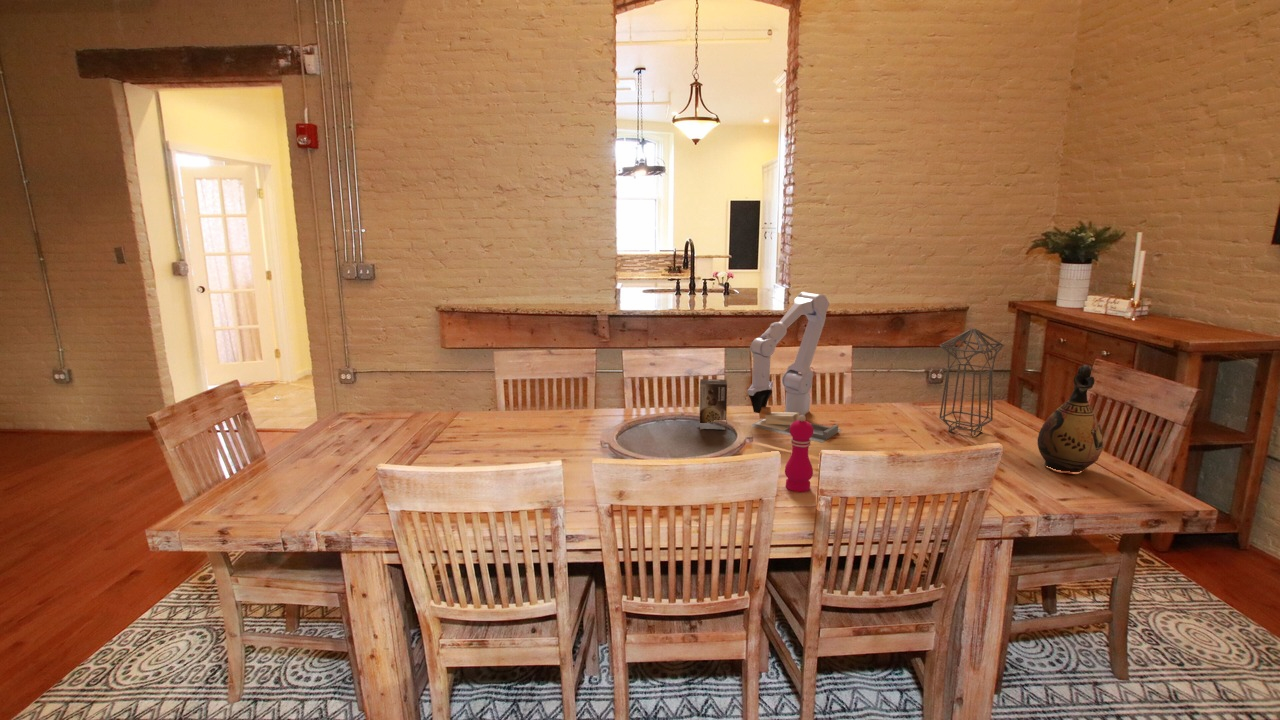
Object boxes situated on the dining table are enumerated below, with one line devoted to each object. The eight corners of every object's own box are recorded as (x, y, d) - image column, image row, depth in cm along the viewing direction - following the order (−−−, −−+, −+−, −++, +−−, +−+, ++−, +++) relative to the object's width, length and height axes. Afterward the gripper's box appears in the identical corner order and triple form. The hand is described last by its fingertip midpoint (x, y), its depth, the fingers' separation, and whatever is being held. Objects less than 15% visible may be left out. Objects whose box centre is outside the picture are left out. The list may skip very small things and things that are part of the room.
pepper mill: (780, 482, 176) (784, 411, 172) (806, 481, 177) (811, 410, 172) (788, 493, 169) (793, 419, 165) (815, 492, 170) (821, 419, 165)
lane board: (770, 416, 232) (771, 408, 232) (841, 432, 217) (842, 422, 216) (748, 428, 220) (749, 419, 219) (822, 445, 204) (823, 435, 204)
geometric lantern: (979, 443, 207) (989, 334, 200) (930, 432, 219) (937, 328, 211) (998, 432, 217) (1009, 328, 210) (951, 421, 229) (959, 323, 221)
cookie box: (725, 424, 223) (727, 379, 220) (726, 430, 217) (728, 384, 214) (698, 423, 224) (700, 378, 221) (698, 429, 218) (700, 383, 214)
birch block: (765, 420, 228) (764, 406, 227) (799, 421, 219) (798, 406, 219) (758, 423, 224) (757, 409, 223) (793, 425, 216) (791, 410, 215)
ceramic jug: (1099, 484, 176) (1118, 376, 169) (1033, 472, 184) (1048, 368, 177) (1096, 464, 190) (1113, 364, 183) (1034, 453, 198) (1049, 357, 191)
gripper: (761, 379, 215) (759, 418, 218) (781, 370, 226) (779, 408, 229) (742, 375, 219) (741, 414, 222) (763, 367, 230) (761, 404, 233)
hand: (759, 411), depth 226 cm, fingers closed on birch block, 3 cm apart
